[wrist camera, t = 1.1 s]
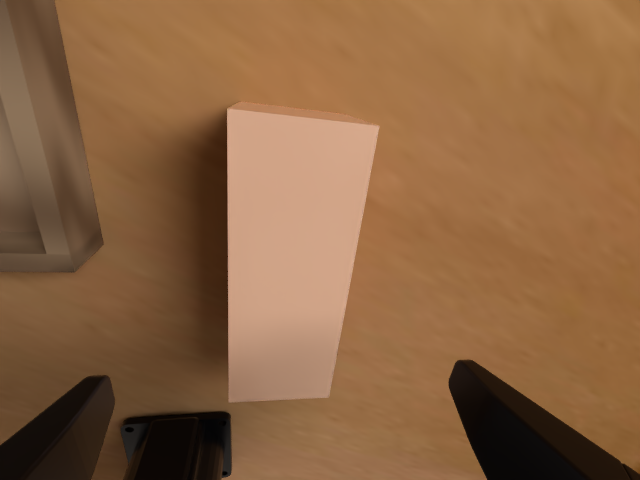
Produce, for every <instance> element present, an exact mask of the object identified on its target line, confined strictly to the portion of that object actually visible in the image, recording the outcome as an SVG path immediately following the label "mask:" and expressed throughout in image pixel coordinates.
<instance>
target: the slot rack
mask: <svg viewBox="0 0 640 480" xmlns="http://www.w3.org/2000/svg"><path fill="white" fill-rule="evenodd" d="M103 245H104V244H103V239H102V234H101V229H100V224H99V219H98V214H97V210H96V205H95V200H94V195H93V190H92V185H91V180H90V175H89V170H88V165H87V160H86V155H85V150H84V145H83V140H82V135H81V130H80V126H79V121H78V116H77V111H76V106H75V101H74V96H73V91H72V86H71V81H70V76H69V71H68V66H67V61H66V56H65V51H64V46H63V41H62V37H61V32H60V27H59V22H58V17H57V12H56V7H55V2H54V0H0V272H76V271H77V270H78V269H79V268H80V267H81V266H82V265H83V264H84V263H85V262H86V261H87V260H88V259H89V258H90V257H91V256H92V255H93V254H94V253H95V252H96V251H97V250H98V249H99V248H100V247H101V246H103Z"/></svg>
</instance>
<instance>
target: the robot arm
mask: <svg viewBox="0 0 640 480" xmlns="http://www.w3.org/2000/svg"><path fill="white" fill-rule="evenodd" d="M449 389H450V392H451V395H452V397H453V400H454V403H455V405H456V408H457V411H458V413H459V416H460V419H461V421H462V424H463V427H464V429H465V432H466V434H467V437H468V439H469V442H470V444H471V447H472V449H473V451H474V453H475V455H476V457H477V459H478V462H479V464H480V466H481V468H482V470H483V472H484V474H485V476H486V478H487V480H640V474H639V473H637V472H636V471H634V470H633V469H631V468H630V467H628V466H627V465H625V464H622V463H621V462H620V461H619V460H618V459H617V458H615V457H614V456H612V455H611V454H609V453H608V452H606V451H605V450H603V449H602V448H600V447H599V446H597V445H596V444H595V443H593V442H592V441H590V440H589V439H587V438H586V437H584V436H583V435H581V434H580V433H578V432H577V431H575V430H574V429H573V428H571V427H570V426H568V425H567V424H565V423H564V422H562V421H561V420H559V419H558V418H556V417H555V416H553V415H552V414H551V413H549V412H548V411H546V410H545V409H543V408H542V407H540V406H539V405H537V404H536V403H534V402H533V401H532V400H530V399H529V398H527V397H526V396H524V395H523V394H521V393H520V392H518V391H517V390H515V389H514V388H512V387H511V386H510V385H508V384H507V383H505V382H504V381H502V380H501V379H499V378H498V377H496V376H495V375H493V374H492V373H490V372H489V371H488V370H486V369H485V368H483V367H482V366H480V365H479V364H477V363H476V362H474V361H472V360H458V361H457V362H456V363H455V365H454V368H453V370H452V373H451V375H450V378H449ZM114 405H115V398H114V394H113V390H112V385H111V381H110V378H109V377H108V376H107V375H97V376H88V377H86V378H85V379H83V380H82V381H81V382H79V383H78V384H77V385H76V386H74V387H73V388H72V389H71V390H69V391H68V392H67V393H66V394H64V395H63V396H62V397H61V398H59V399H58V400H57V401H56V402H54V403H53V404H52V405H51V406H49V407H48V408H47V409H45V410H44V411H43V412H42V413H40V414H39V415H38V416H37V417H35V418H34V419H33V420H32V421H30V422H29V423H28V424H27V425H25V426H24V427H23V428H22V429H20V430H19V431H18V432H16V433H15V434H14V435H13V436H11V437H10V438H9V439H8V440H6V441H5V442H4V443H3V444H1V445H0V480H91V478H92V475H93V472H94V469H95V466H96V463H97V460H98V457H99V453H100V450H101V447H102V444H103V441H104V438H105V435H106V432H107V429H108V425H109V422H110V419H111V416H112V413H113V410H114ZM121 434H122V438H123V443H124V447H125V451H126V455H127V459H128V463H129V465H128V468H127V470H126V473H125V476H124V479H123V480H221V478H224V477H228V476H230V475H231V470H232V449H231V416H230V414H229V413H225V412H221V413H205V414H190V415H174V416H159V417H143V418H130V419H126V420H125V421H124V422H123V424H122V427H121Z"/></svg>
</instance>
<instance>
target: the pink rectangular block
mask: <svg viewBox="0 0 640 480" xmlns="http://www.w3.org/2000/svg"><path fill="white" fill-rule="evenodd" d="M378 131H379V126H378V125H375V124H372V123H369V122H366V121H364V120H361V119H358V118H355V117H352V116H349V115H346V114H341V113H332V112H324V111H316V110H307V109H299V108H291V107H282V106H274V105H266V104H257V103H249V102H238V103H236V104H235V105H233V106H231V107H229V108H227V172H228V359H229V402H249V401H268V400H287V399H307V398H326V397H329V394H330V389H331V383H332V378H333V373H334V367H335V362H336V356H337V351H338V346H339V340H340V335H341V330H342V324H343V319H344V313H345V308H346V303H347V297H348V292H349V287H350V281H351V276H352V270H353V265H354V260H355V254H356V249H357V243H358V238H359V233H360V227H361V222H362V217H363V211H364V206H365V200H366V195H367V190H368V184H369V179H370V174H371V168H372V163H373V157H374V152H375V147H376V141H377V136H378Z"/></svg>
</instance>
